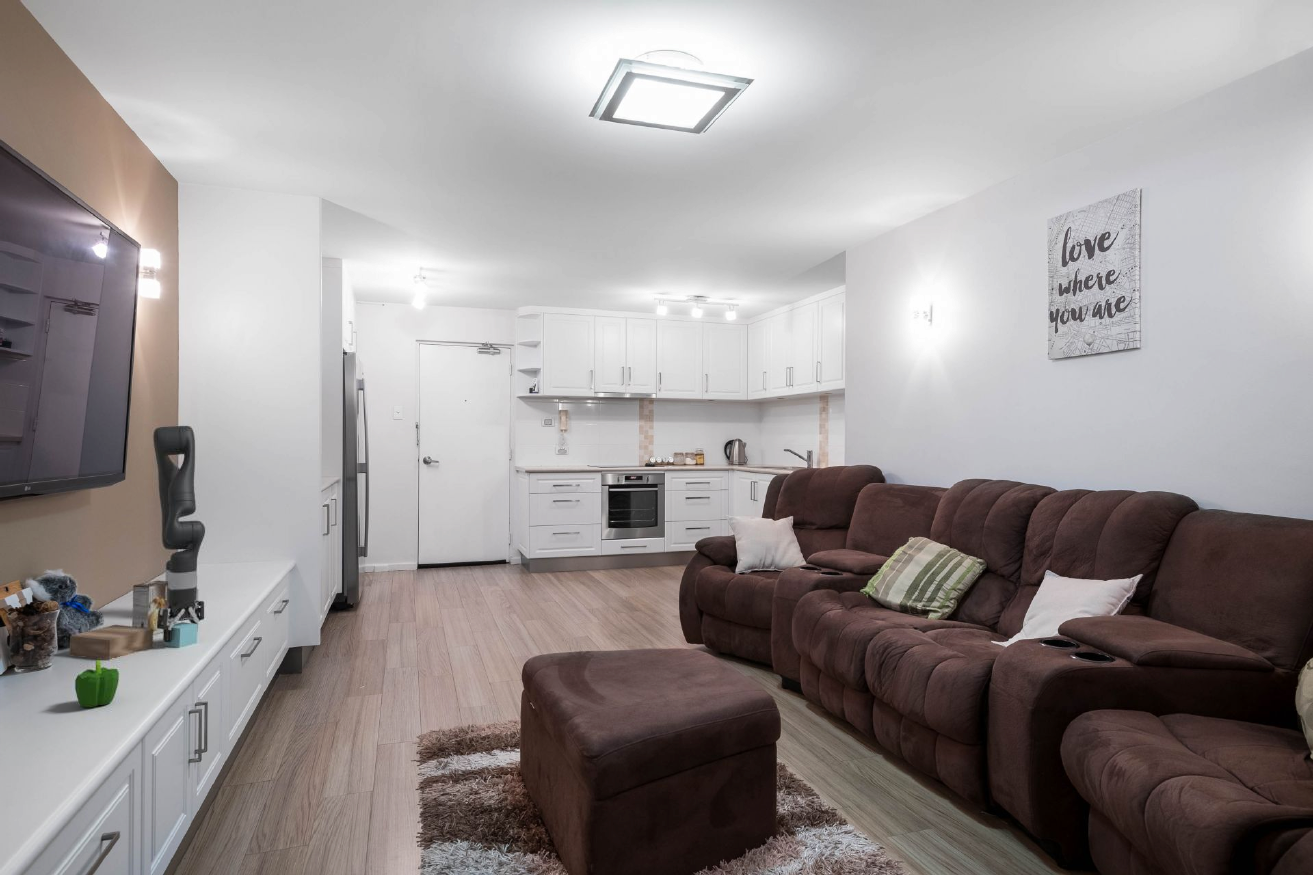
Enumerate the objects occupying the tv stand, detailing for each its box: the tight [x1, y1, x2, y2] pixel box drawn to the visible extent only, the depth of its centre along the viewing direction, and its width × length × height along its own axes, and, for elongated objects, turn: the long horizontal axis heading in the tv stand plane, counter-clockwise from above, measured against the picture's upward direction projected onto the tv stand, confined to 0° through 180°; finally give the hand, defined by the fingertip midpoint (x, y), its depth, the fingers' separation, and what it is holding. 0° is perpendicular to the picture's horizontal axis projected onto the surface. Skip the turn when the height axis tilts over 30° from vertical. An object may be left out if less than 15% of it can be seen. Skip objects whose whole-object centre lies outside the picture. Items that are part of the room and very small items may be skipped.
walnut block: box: [69, 624, 154, 661], centre depth 219 cm, size 14×14×6 cm
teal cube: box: [163, 621, 199, 649], centre depth 229 cm, size 6×6×6 cm
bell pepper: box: [74, 659, 120, 708], centre depth 177 cm, size 8×8×10 cm
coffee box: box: [131, 580, 172, 636], centre depth 241 cm, size 9×6×16 cm
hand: (180, 638), depth 228 cm, fingers open, 8 cm apart
